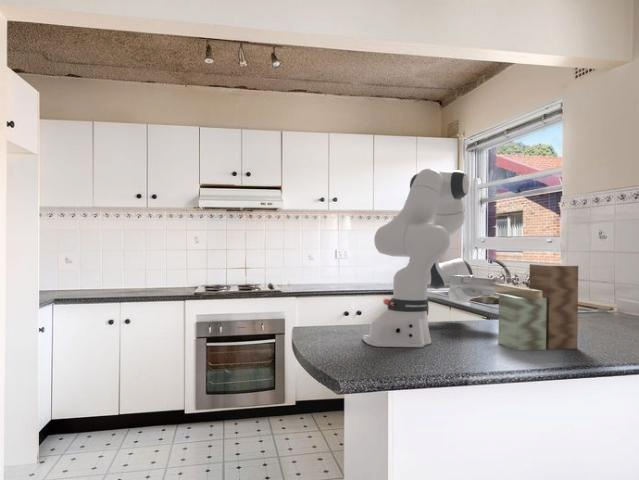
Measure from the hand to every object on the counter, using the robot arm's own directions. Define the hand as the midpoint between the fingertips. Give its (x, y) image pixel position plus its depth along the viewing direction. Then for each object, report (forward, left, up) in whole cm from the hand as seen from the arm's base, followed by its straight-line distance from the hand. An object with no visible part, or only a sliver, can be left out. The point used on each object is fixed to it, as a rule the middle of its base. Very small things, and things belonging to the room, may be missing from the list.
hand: (484, 278), depth 166 cm
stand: (+7, -21, -20) cm, 30 cm away
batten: (+1, -18, -4) cm, 18 cm away
